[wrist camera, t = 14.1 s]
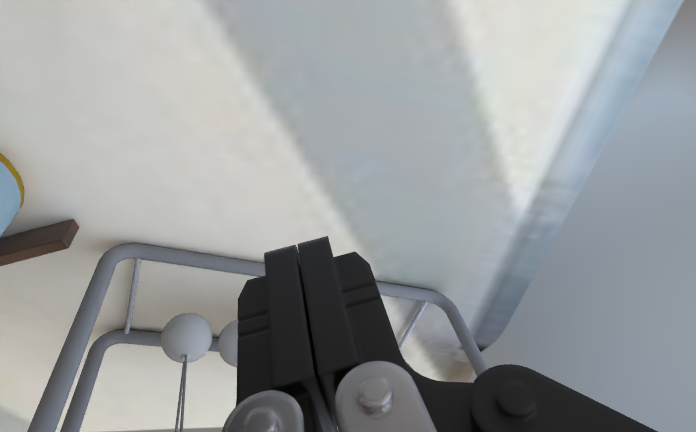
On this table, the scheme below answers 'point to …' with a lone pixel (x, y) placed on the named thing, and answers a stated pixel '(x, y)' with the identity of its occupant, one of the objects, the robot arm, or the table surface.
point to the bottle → (9, 193)
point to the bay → (37, 242)
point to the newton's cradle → (177, 332)
